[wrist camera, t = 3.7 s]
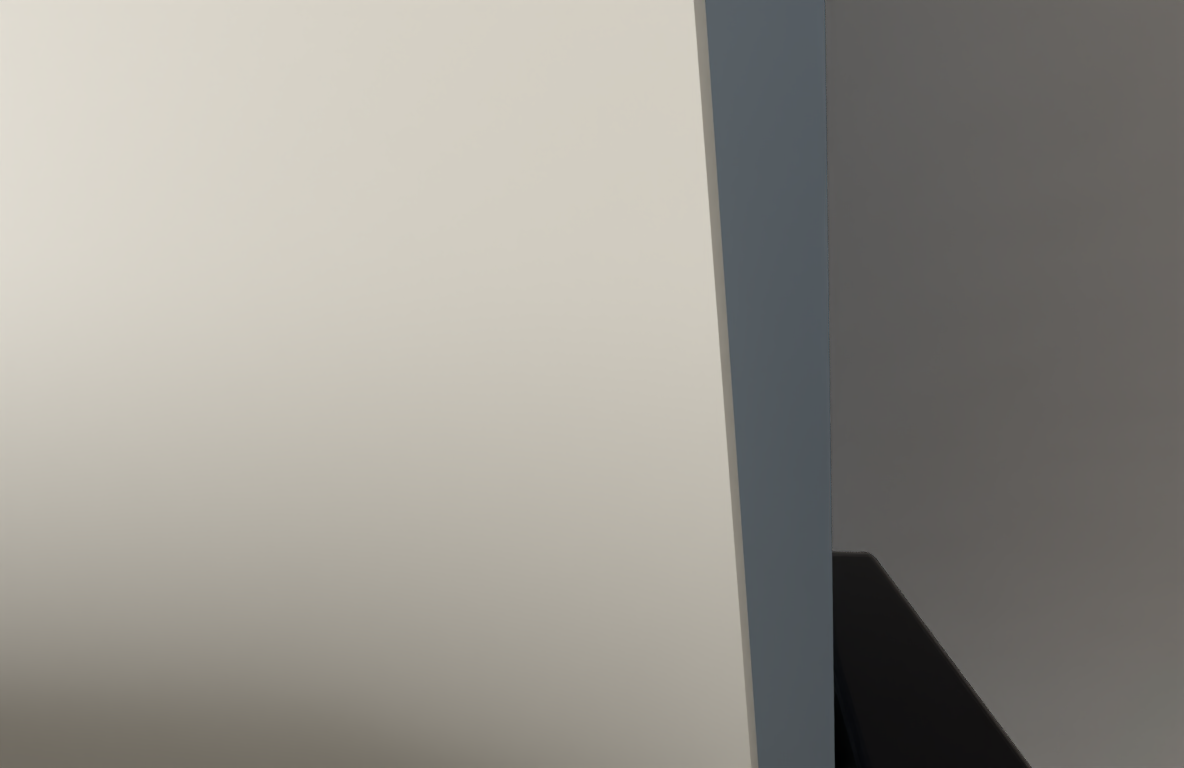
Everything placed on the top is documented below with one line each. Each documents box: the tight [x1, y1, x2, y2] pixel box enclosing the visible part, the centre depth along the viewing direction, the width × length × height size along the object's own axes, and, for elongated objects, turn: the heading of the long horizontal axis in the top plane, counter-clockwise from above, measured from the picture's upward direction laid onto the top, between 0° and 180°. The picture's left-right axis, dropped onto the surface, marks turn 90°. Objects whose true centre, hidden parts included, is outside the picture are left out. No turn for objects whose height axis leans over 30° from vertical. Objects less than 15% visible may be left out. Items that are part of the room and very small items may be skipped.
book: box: [0, 0, 835, 768], centre depth 7 cm, size 12×4×5 cm, turn 7°
